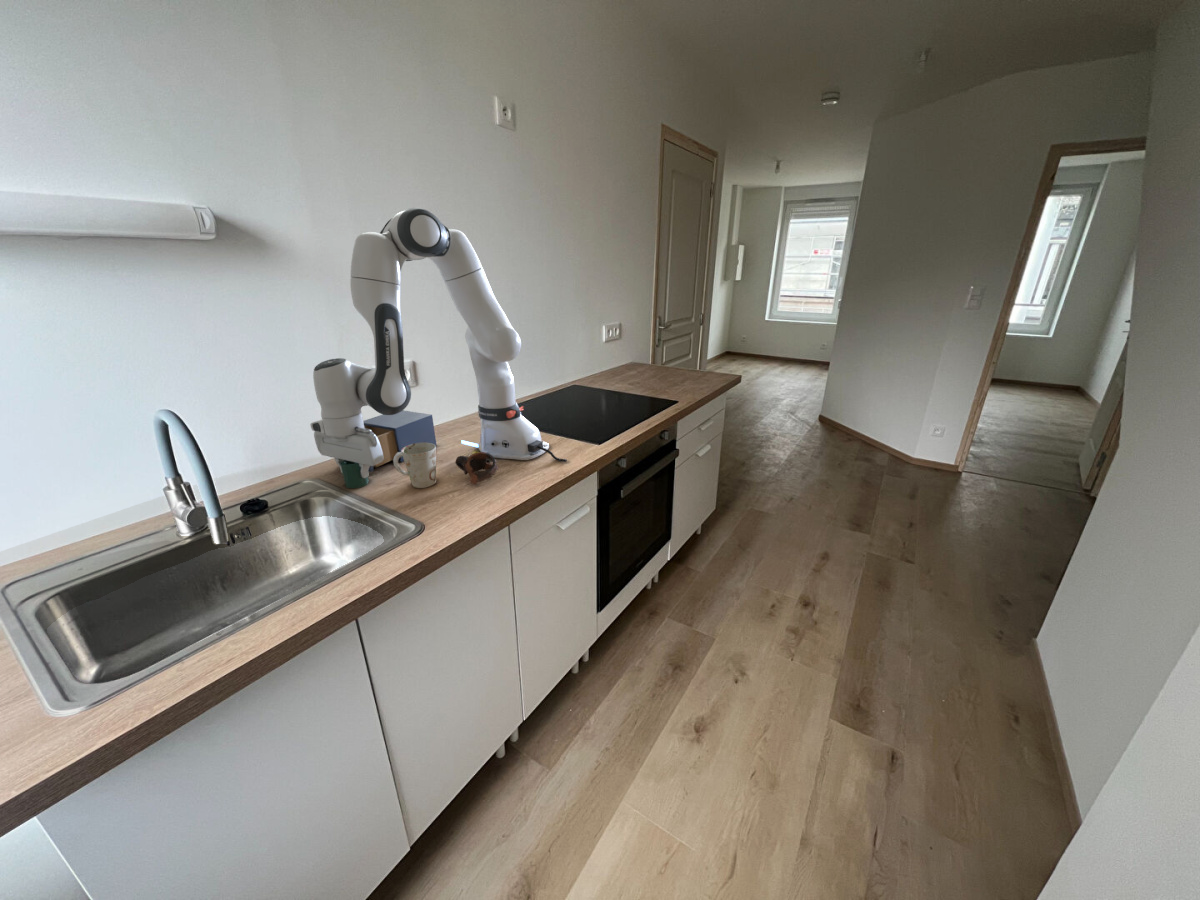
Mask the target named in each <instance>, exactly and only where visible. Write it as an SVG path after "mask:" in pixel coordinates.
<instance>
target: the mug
mask: <svg viewBox="0 0 1200 900" xmlns="http://www.w3.org/2000/svg"><path fill="white" fill-rule="evenodd" d="M402 456H403V459H404V461H403V462H404V466H405V468H406V471H405V470H403V469H402V467H401V466H400V464H399V462H398V459H399V458H400V457H402ZM392 463H393V466H394V468H395V469H396V470H397V471H398V472H399V473H400V474H402V475H403V476H408V477H409V480H410V483H411V486H412V487H413V488H417V489H425V488H428V487H432V486H434V485H435V484H436V483H437V446H435V445H434V444H432V443H415V444H411V445H408V446H405V447H404V448H403V449H402V450H401V452H398V453H397V454H396V455H395V456H394V460H392Z"/></svg>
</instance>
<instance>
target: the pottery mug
mask: <svg viewBox="0 0 1200 900" xmlns="http://www.w3.org/2000/svg"><path fill="white" fill-rule="evenodd" d="M488 459H490V461H491V463H492V464H491V463H489V462H487V460H488ZM455 464H456V466H457V467H458V468H459V469H460V470H462V471H463V473H464V475H469V476H470V480H469V482H470V484H472V485H474V486H476V485H477V484H478V483H480V482H483V481H486V480H489V479H491V478H492V477H493V476H494V475H495V474H496V472H497V471H498V470H500V469H499V467H498V465H497V460H496V458H494V457H493V456H492V455H491V454H489V453H485V452H481V451H476V452H474V453H472V454H470V455H469V456H465V455H459V456H457V457H456V459H455Z"/></svg>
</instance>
